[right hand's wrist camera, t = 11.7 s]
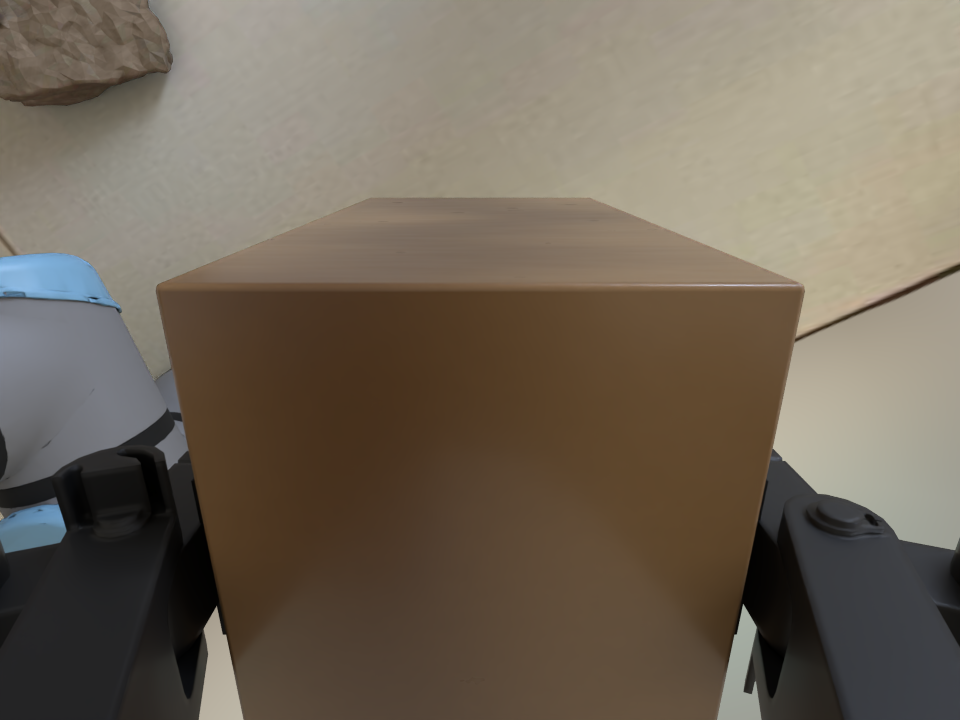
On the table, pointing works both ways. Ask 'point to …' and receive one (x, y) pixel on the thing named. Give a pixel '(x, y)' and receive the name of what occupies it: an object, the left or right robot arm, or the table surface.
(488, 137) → the table surface
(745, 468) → the wooden block
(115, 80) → the stone
